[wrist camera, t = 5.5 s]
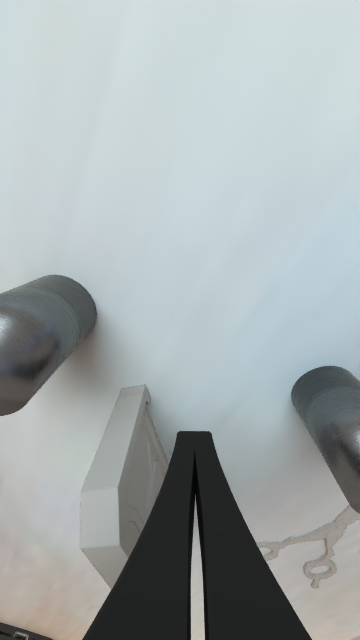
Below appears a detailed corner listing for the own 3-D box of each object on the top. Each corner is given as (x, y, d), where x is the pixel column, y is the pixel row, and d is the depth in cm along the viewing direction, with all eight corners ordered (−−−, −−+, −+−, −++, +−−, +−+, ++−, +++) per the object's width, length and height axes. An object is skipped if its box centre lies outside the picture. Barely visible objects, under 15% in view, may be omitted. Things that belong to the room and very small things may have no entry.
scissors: (230, 564, 24) (372, 444, 16) (228, 554, 25) (364, 434, 17) (316, 588, 25) (484, 488, 18) (312, 578, 26) (473, 478, 18)
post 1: (102, 288, 13) (37, 341, 7) (90, 347, 14) (28, 427, 9) (29, 264, 12) (-98, 301, 7) (24, 328, 14) (-82, 398, 9)
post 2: (369, 377, 14) (480, 474, 9) (332, 421, 16) (407, 527, 11) (312, 358, 14) (390, 447, 9) (280, 405, 16) (328, 506, 10)
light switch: (167, 496, 20) (155, 649, 13) (121, 387, 16) (63, 531, 8) (186, 494, 20) (185, 648, 13) (145, 383, 15) (107, 527, 8)
